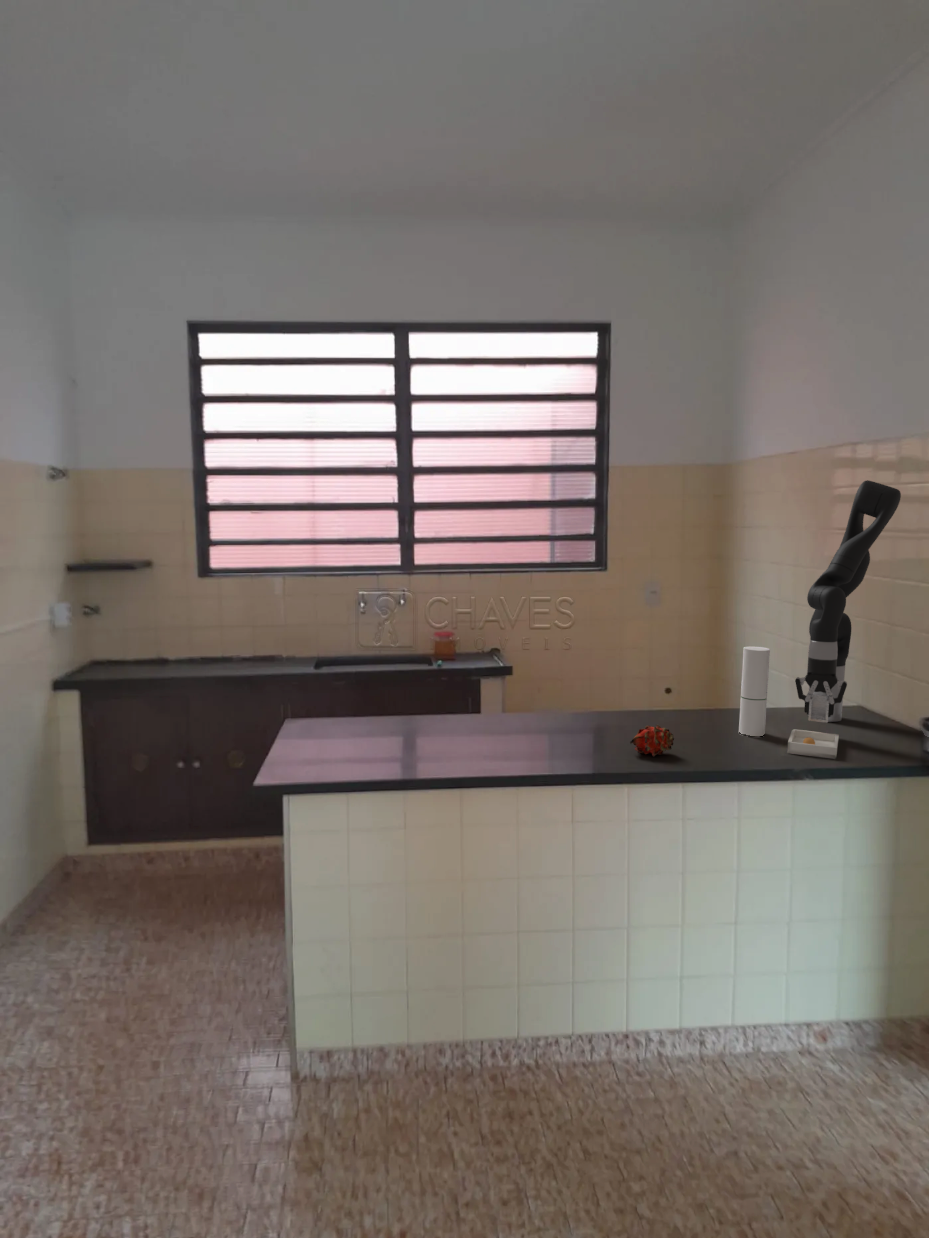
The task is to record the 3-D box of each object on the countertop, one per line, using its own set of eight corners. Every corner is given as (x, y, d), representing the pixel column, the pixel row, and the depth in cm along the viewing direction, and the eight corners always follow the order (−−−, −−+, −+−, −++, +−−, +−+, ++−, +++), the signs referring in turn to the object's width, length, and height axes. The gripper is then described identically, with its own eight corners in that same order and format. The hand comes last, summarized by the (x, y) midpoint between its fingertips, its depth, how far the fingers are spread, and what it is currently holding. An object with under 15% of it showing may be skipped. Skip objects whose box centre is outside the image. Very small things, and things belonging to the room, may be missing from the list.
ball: (801, 735, 233) (799, 746, 232) (808, 736, 230) (805, 748, 229) (812, 738, 233) (809, 748, 233) (818, 739, 230) (816, 750, 230)
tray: (791, 739, 244) (792, 729, 243) (837, 744, 239) (838, 734, 238) (787, 753, 230) (787, 742, 230) (836, 759, 225) (836, 748, 225)
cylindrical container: (765, 732, 251) (771, 647, 248) (763, 738, 245) (768, 651, 241) (740, 729, 254) (745, 645, 251) (737, 735, 248) (741, 649, 244)
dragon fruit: (677, 760, 228) (633, 767, 227) (667, 735, 234) (624, 742, 233) (681, 740, 222) (635, 748, 221) (670, 715, 228) (626, 722, 227)
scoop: (809, 714, 250) (810, 694, 249) (828, 716, 248) (829, 695, 247) (808, 720, 243) (809, 699, 242) (827, 722, 241) (828, 701, 240)
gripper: (794, 656, 242) (790, 715, 245) (850, 660, 237) (846, 721, 239) (796, 652, 249) (792, 710, 251) (850, 656, 243) (846, 715, 246)
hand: (818, 715), depth 245 cm, fingers closed on scoop, 5 cm apart
